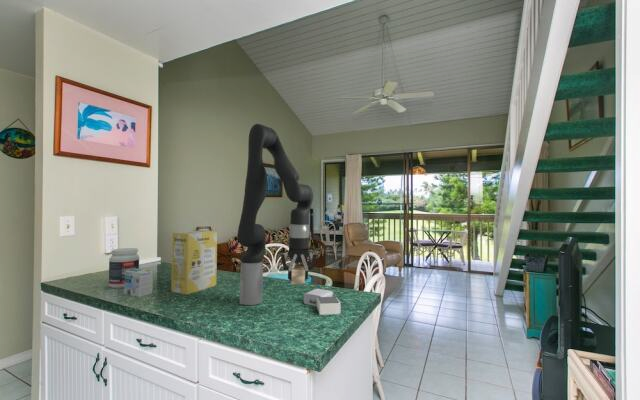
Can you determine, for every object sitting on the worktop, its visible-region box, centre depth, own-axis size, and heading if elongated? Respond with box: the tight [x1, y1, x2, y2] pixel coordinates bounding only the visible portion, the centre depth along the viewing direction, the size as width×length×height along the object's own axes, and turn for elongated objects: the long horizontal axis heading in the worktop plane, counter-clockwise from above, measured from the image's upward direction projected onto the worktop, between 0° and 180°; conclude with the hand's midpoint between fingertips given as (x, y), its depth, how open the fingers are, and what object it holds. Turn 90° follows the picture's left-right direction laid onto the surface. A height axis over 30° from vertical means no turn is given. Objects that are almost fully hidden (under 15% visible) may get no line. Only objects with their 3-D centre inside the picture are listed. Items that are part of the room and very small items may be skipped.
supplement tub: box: [108, 247, 140, 289], centre depth 151 cm, size 13×13×18 cm
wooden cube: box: [290, 267, 306, 285], centre depth 113 cm, size 5×5×5 cm
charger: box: [303, 288, 334, 307], centre depth 129 cm, size 5×9×15 cm
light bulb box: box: [123, 268, 154, 298], centre depth 137 cm, size 11×7×11 cm, turn 68°
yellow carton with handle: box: [170, 229, 218, 295], centre depth 147 cm, size 18×10×28 cm, turn 155°
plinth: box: [316, 296, 341, 316], centre depth 116 cm, size 8×8×4 cm
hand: (297, 280), depth 113 cm, fingers closed on wooden cube, 5 cm apart
